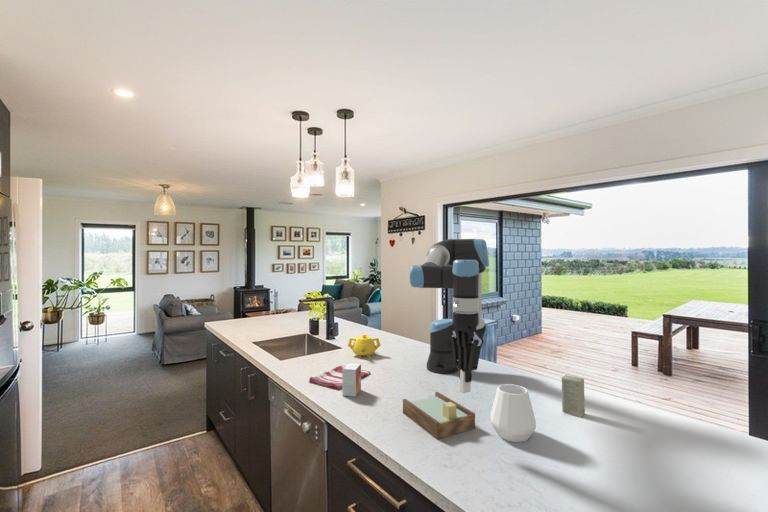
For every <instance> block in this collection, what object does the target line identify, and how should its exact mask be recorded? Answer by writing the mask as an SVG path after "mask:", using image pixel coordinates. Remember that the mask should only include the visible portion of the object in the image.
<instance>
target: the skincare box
mask: <svg viewBox="0 0 768 512" xmlns="http://www.w3.org/2000/svg"><path fill="white" fill-rule="evenodd" d="M585 403H586V402H585V379H584V378H582V377H577V376H572V375H567V374H565V375H564V376H562V377H561V405H562V407H561V410H562V413H563V412H564V413H563V414H567V415H571V416H574V417H579V418H582V417H583V416H584V415H585V414H586V412H585V411H586V409H585Z"/></svg>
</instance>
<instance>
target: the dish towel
mask: <svg viewBox="0 0 768 512" xmlns="http://www.w3.org/2000/svg"><path fill="white" fill-rule="evenodd" d="M345 366H346V365H339V366H337V367H334V368H332V369H331V370H328V371H325V372H323V373H321V374H319V375H318V376H314V377H313V376H310V377H309V381H308V382H309V383H311V384H314V385H318V386H320V387H325V388H328V389H332V390H335V391H340V390H342V369H343V368H344V367H345ZM369 375H372V374H371V372H370V371H368V370H364V369H361V380H362V379H364V378H366V377H368V376H369Z"/></svg>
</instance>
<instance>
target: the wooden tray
mask: <svg viewBox="0 0 768 512" xmlns="http://www.w3.org/2000/svg"><path fill="white" fill-rule="evenodd" d="M434 393H435V394H434V397H436V396H437V397H438V398H440V399H442V400H444V401H445V402H452V403H454V404H455V405H456V408H457V409H459V410H460V411H462V412H464V413H465V414H467V415H466V416H463V417H459V418H455V419H451V420H447V421H444V422H438V421H437V420H435V419H434V418H432V417H431V416H430V415H428V414H427V413H425V412H424V411H422V410H421V409H419V408H418V407H417V406H415V405H414V404H412V403H411V402H412V401H410V400H408V399H406V398H403V399H402V414H403V415H405V416H406V417H407V418H408V419H410V420H411V421H412V422H413V423H415V424H416V425H417V426H419V427H420V428H422V429H423V430H424V431H426V432H427V433H428V434H429V435H431V436H432V438H435V439H436V440H441V439H444V438H446V437H450V436H453V435H458V434H462V433H464V432H468V431H471V430H475V429H476V413H475V412H473V411H472V410H470V409H468V408H466V407H464V406H463V405H461V404H460V403H458V402H457V401H455V400H453V399H450V398H449V397H447V396H445V395H444V394H442V393H441V392H439V391H435V392H434Z"/></svg>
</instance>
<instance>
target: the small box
mask: <svg viewBox="0 0 768 512" xmlns="http://www.w3.org/2000/svg"><path fill="white" fill-rule="evenodd" d="M344 366H345V367H344V368H343V369H342V388H341V390H342V391H341V392H342V396H343V397H355V398H356V397H357V396H358V394H360V392H361V390H362V379H361V370H362V364H361V363H350V362H349V363H347V364H346V365H344Z"/></svg>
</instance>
